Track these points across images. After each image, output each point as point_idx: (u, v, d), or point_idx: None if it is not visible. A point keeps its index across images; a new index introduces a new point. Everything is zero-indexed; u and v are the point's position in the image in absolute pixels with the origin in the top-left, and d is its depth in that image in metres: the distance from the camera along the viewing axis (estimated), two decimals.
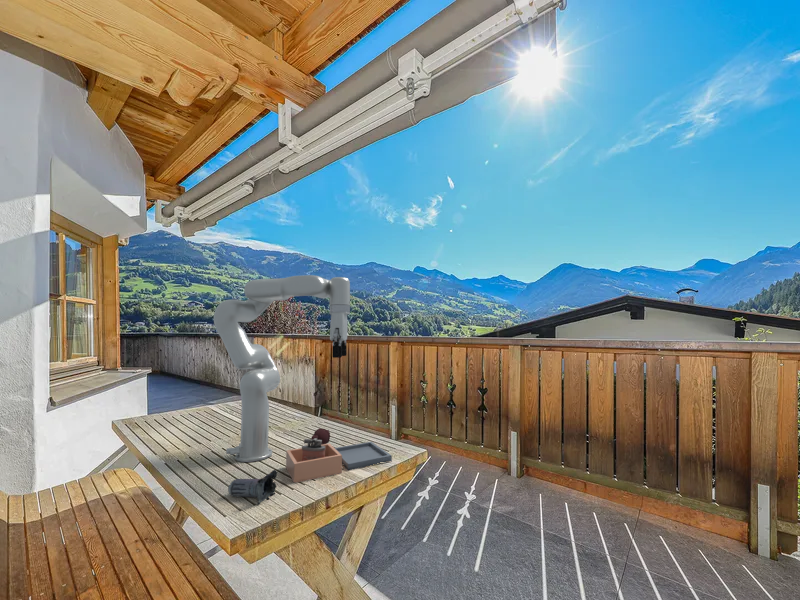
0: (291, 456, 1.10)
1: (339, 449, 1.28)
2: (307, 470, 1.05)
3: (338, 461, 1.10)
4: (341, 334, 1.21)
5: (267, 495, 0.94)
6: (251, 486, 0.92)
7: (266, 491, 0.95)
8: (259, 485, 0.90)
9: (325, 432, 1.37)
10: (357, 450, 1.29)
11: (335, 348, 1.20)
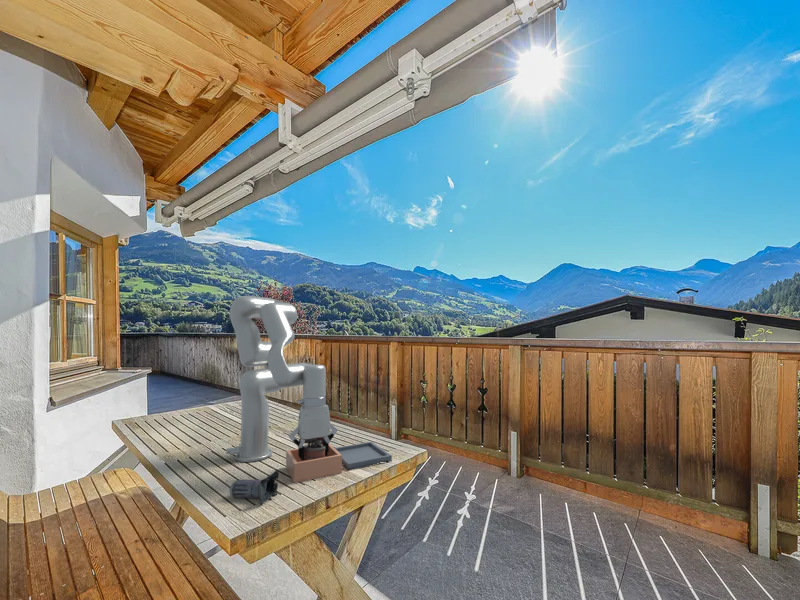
0: (291, 456, 1.10)
1: (339, 449, 1.28)
2: (307, 470, 1.05)
3: (338, 461, 1.10)
4: None
5: (269, 496, 0.94)
6: (253, 487, 0.92)
7: (268, 492, 0.94)
8: (262, 485, 0.90)
9: None
10: (357, 450, 1.29)
11: None
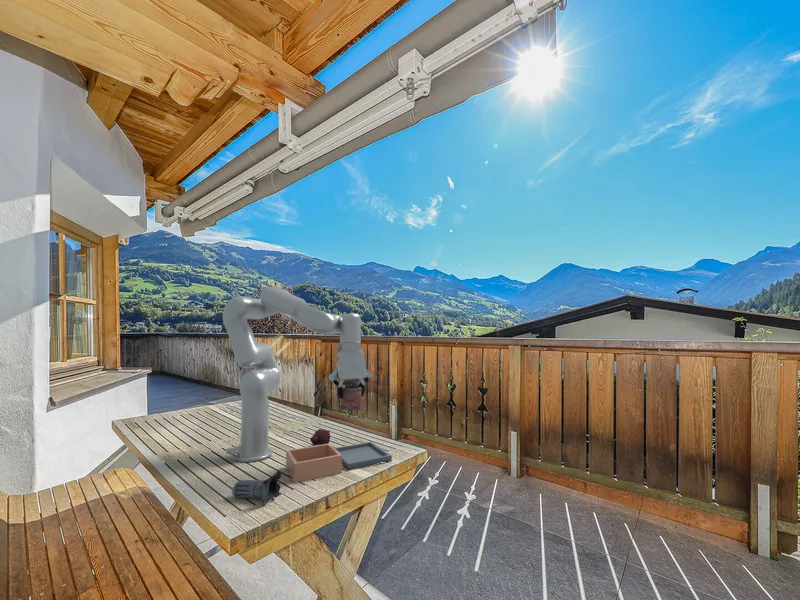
0: (291, 456, 1.10)
1: (339, 449, 1.28)
2: (307, 470, 1.05)
3: (338, 461, 1.10)
4: None
5: (272, 496, 0.93)
6: (256, 488, 0.92)
7: (270, 492, 0.94)
8: (264, 486, 0.90)
9: (325, 433, 1.36)
10: (357, 450, 1.29)
11: None
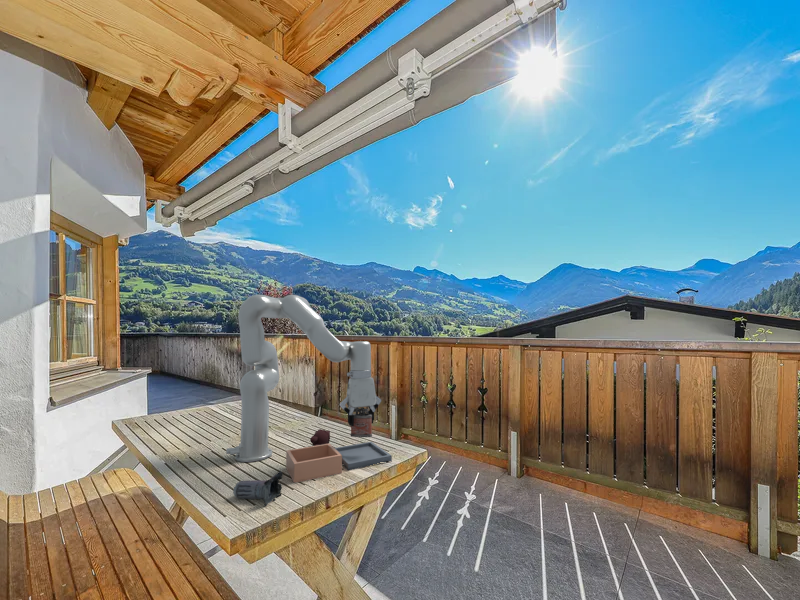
0: (291, 456, 1.10)
1: (339, 449, 1.28)
2: (307, 470, 1.05)
3: (338, 461, 1.10)
4: None
5: (273, 497, 0.93)
6: (257, 488, 0.91)
7: (272, 493, 0.94)
8: (266, 486, 0.89)
9: (325, 433, 1.35)
10: (357, 450, 1.29)
11: None
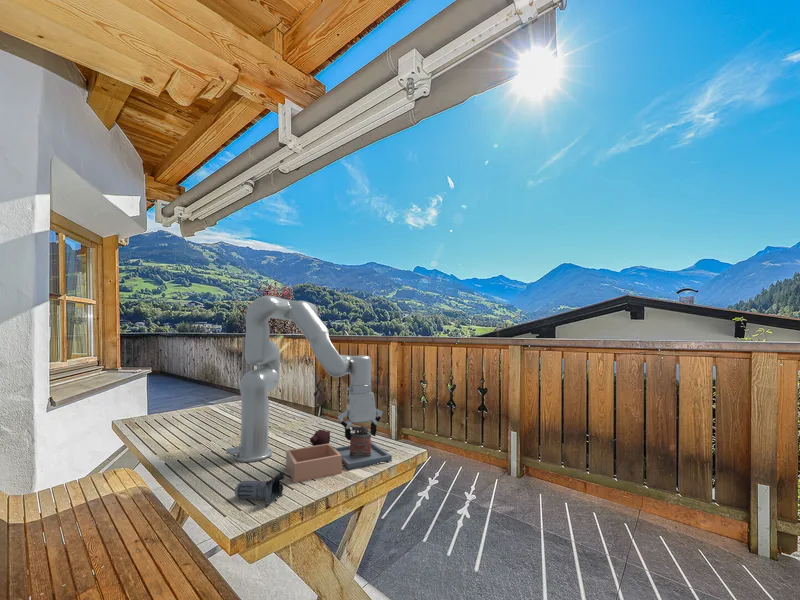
0: (291, 456, 1.10)
1: (339, 449, 1.28)
2: (307, 470, 1.05)
3: (338, 461, 1.10)
4: None
5: (275, 497, 0.93)
6: (259, 488, 0.91)
7: (274, 493, 0.93)
8: (267, 487, 0.89)
9: (325, 433, 1.35)
10: None
11: None
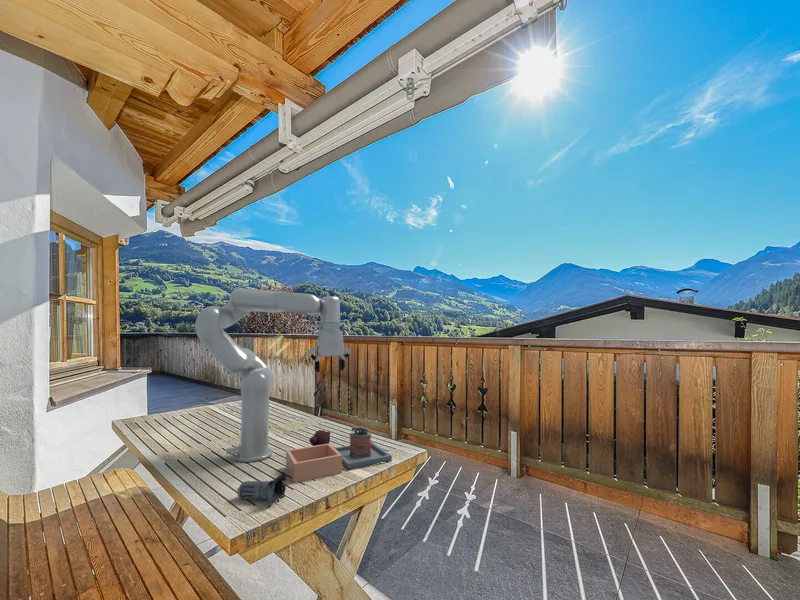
0: (291, 456, 1.10)
1: (339, 449, 1.28)
2: (307, 470, 1.05)
3: (338, 461, 1.10)
4: None
5: (277, 498, 0.93)
6: (261, 489, 0.91)
7: (276, 493, 0.93)
8: (270, 487, 0.89)
9: (325, 434, 1.34)
10: None
11: None
